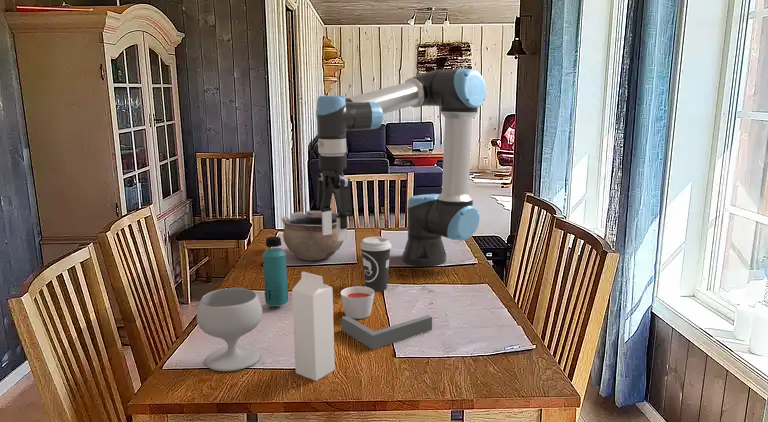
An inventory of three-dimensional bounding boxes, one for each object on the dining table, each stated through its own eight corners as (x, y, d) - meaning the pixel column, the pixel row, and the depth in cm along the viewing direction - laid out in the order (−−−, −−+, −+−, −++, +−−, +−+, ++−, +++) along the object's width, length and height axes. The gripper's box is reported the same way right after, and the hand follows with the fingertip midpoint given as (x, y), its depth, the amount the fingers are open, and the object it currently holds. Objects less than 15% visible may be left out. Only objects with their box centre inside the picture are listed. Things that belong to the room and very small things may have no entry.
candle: (349, 323, 149) (349, 300, 148) (335, 311, 157) (335, 289, 156) (380, 317, 153) (380, 294, 152) (365, 305, 161) (365, 284, 160)
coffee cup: (388, 294, 170) (388, 244, 167) (357, 292, 172) (356, 243, 169) (394, 283, 179) (394, 236, 176) (364, 281, 181) (363, 235, 178)
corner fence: (398, 313, 155) (398, 301, 155) (432, 330, 145) (432, 317, 144) (341, 330, 145) (341, 317, 144) (373, 349, 134) (372, 335, 134)
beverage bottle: (293, 304, 163) (290, 235, 158) (281, 312, 157) (278, 241, 152) (272, 301, 165) (269, 233, 161) (260, 310, 159) (256, 239, 154)
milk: (314, 363, 128) (311, 267, 124) (335, 370, 125) (332, 272, 120) (295, 373, 123) (290, 274, 119) (315, 381, 120) (312, 280, 115)
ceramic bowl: (313, 246, 222) (312, 207, 219) (358, 255, 209) (357, 214, 206) (271, 260, 204) (268, 218, 201) (316, 271, 192) (315, 227, 189)
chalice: (208, 347, 136) (203, 286, 133) (268, 345, 137) (265, 284, 134) (193, 376, 123) (187, 309, 119) (260, 373, 124) (256, 307, 120)
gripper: (301, 152, 161) (305, 232, 166) (340, 159, 145) (342, 247, 150) (325, 150, 165) (327, 228, 170) (365, 156, 149) (366, 242, 154)
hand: (334, 237), depth 160 cm, fingers open, 7 cm apart
